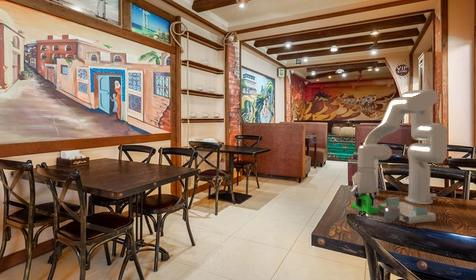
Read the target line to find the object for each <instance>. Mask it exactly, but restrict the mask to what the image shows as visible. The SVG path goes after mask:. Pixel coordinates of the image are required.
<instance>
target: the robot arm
mask: <svg viewBox="0 0 476 280" xmlns="http://www.w3.org/2000/svg"><path fill="white" fill-rule="evenodd" d="M438 97H439V96H438V93H437V92H436V90H434V89H433V88H426V89H425V88H424V89H416V90H415V89H414V90H408V91H405V92H403V93H401V95H400V96H399V97H395V98H392V99H391V100H390V101H389V103H388V105H387V106H386V110H385V112H384V113H383V117H382V119H381V121H380V123H379V124H378V125H377V126H375V128H374V129H372V131H370V132H369V133H368V134H367V136H366V138H365V139H364V142H363V144H361V145H359V146H358V149H357V170H356V172H355V173H356V174H355V173H354V176H355V178H354V181H353V188H352V189H351V190H350V193H351V194H352V195H353V196H354V197H355V202H356V205H357V206H359V207H361V202H362V200H361V197H362V193H367V195H368V196H369V197H370V198H371V201H372V206H374V203H375V202H374V200H375V197H376V195H377V194H378V193H379V192H380V188H379V187H378V188H377V187H376V176H375V173H374V170H376V168H375V167H374V163H375V159H378V161H379V160H380V161H385V160H388V159H390V158H391V156H392V154H393V151H392V148H391V147H390V146H388V145H384V144H379V141H380V140H381V139H382V138H384V137H386V136H387V135H390V134H393V133H395V132H396V131H398V130H399V129H400V126H401V124H402V121H403V119H404V117H405V115H410V117H411V118H410V119H411V121H410V123H411V124H410V134H411V137H412V139H413V140H415V141H420V142H416V143H414V142H413V143H412V144H410V145H409V146H408V147H407V158H408V170H409V171H408V194H407V196H405V197H404V200H405V201H407V202H409V203H413V204H417V205H432V204H433V203H434V202H433V201H434V200H433V199H432V198H436V197H437V193H431V191H430V190H431V189H430V188H431V167H430V164H429V163H433V164H442V163H443V162H444V161H446V158H447V154H448V153H447V152H448V130H447V128H446V126H445V125H444V124H443V123H439V122H432V121H431V111H430V110H429V108H430V107H432V106H434V105H435V104H436V103H437V100H438ZM421 142H422V143H421ZM424 142H425V143H424ZM426 142H430V143H426ZM355 191H356V192H355Z"/></svg>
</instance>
